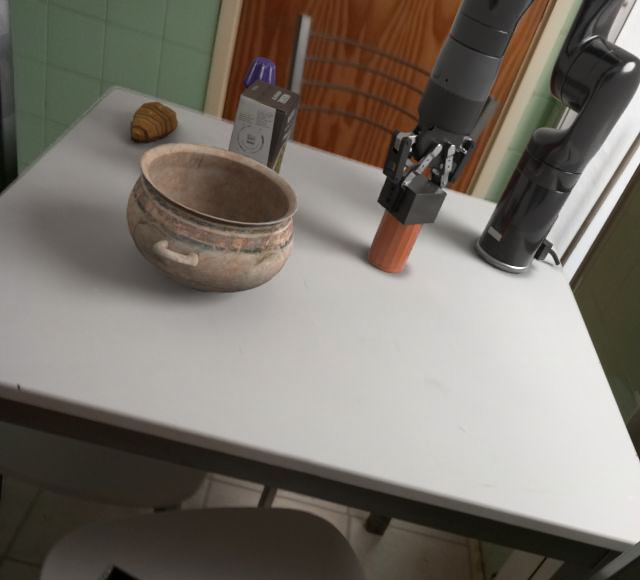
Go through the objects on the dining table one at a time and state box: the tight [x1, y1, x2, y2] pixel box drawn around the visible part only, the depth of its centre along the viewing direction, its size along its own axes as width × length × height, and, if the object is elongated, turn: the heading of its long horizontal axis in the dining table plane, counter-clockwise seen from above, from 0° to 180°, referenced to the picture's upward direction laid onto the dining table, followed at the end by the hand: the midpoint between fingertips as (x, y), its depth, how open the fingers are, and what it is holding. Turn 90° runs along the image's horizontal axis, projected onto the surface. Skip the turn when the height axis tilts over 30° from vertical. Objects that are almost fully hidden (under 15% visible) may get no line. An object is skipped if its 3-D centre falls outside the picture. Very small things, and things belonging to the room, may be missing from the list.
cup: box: [366, 208, 424, 274], centre depth 97 cm, size 6×6×8 cm
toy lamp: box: [242, 56, 276, 90], centre depth 101 cm, size 5×5×17 cm
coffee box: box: [227, 79, 301, 175], centre depth 93 cm, size 9×6×16 cm
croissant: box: [129, 101, 179, 144], centre depth 105 cm, size 14×7×5 cm, turn 165°
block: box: [376, 170, 448, 225], centre depth 93 cm, size 6×6×4 cm
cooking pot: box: [125, 142, 300, 294], centre depth 79 cm, size 25×19×12 cm
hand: (407, 208), depth 94 cm, fingers closed on block, 6 cm apart
